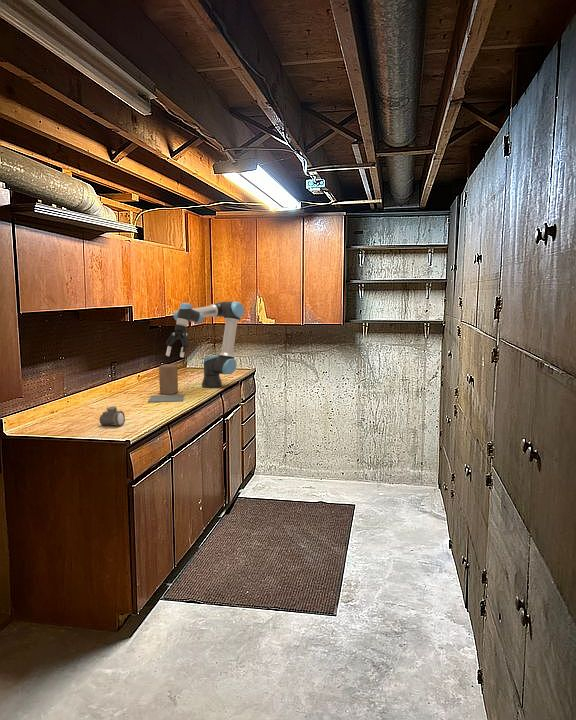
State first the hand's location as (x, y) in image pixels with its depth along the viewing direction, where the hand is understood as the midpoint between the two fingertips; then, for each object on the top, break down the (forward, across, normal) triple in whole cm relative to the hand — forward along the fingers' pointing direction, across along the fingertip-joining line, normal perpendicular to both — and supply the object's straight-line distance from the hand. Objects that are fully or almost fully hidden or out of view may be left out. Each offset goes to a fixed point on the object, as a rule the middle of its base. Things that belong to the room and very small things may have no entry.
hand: (174, 356), depth 367 cm
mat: (+28, -2, +3) cm, 29 cm away
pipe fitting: (+50, +32, -61) cm, 86 cm away
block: (+24, -17, +18) cm, 34 cm away
